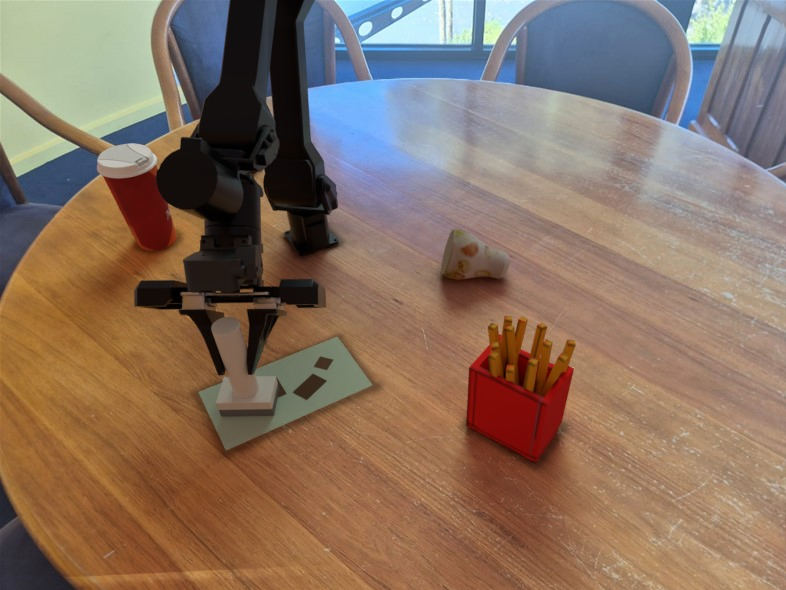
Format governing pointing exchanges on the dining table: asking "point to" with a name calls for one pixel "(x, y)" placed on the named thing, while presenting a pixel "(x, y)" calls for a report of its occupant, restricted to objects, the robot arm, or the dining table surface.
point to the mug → (471, 258)
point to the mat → (293, 390)
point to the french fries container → (519, 389)
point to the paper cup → (138, 194)
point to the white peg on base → (241, 375)
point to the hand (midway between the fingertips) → (236, 375)
